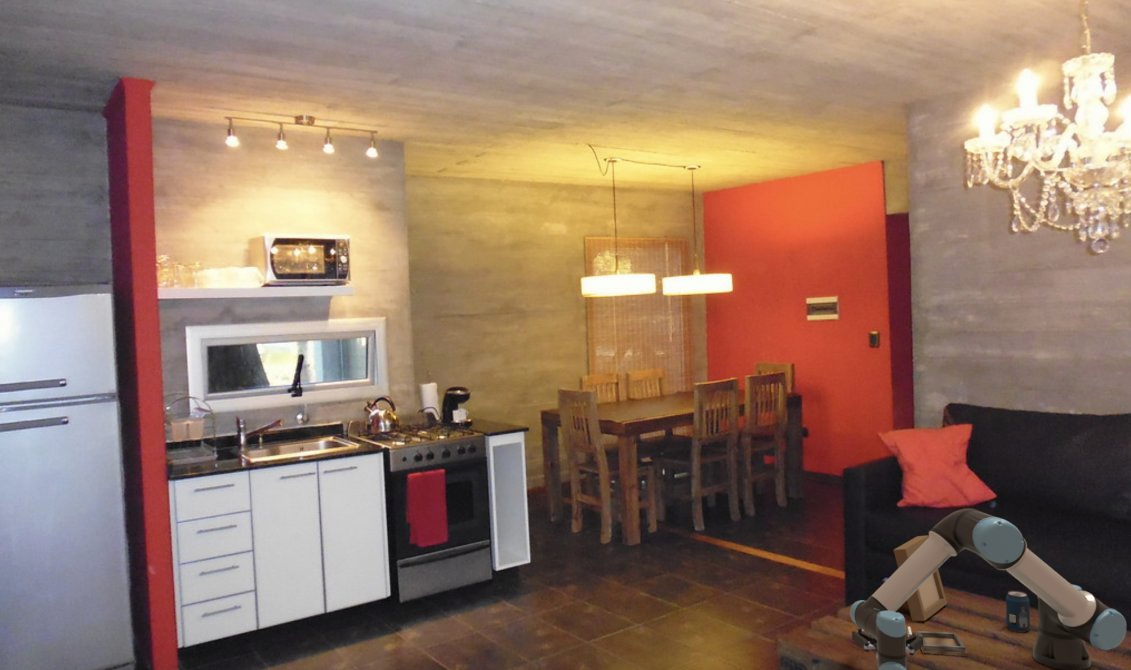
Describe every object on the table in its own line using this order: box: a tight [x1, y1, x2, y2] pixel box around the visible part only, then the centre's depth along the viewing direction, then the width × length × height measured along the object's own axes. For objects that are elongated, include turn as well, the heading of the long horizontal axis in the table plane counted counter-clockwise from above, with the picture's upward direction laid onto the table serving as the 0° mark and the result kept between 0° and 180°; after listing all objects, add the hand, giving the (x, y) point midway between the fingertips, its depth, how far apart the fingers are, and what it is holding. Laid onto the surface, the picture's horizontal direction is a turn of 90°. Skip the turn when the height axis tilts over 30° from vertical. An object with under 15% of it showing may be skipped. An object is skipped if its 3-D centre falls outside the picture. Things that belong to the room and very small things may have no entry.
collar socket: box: [916, 630, 969, 657], centre depth 267 cm, size 13×13×2 cm
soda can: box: [1005, 590, 1031, 633], centre depth 280 cm, size 7×7×12 cm
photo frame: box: [893, 534, 948, 622], centre depth 300 cm, size 15×22×25 cm
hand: (885, 629), depth 262 cm, fingers open, 13 cm apart
